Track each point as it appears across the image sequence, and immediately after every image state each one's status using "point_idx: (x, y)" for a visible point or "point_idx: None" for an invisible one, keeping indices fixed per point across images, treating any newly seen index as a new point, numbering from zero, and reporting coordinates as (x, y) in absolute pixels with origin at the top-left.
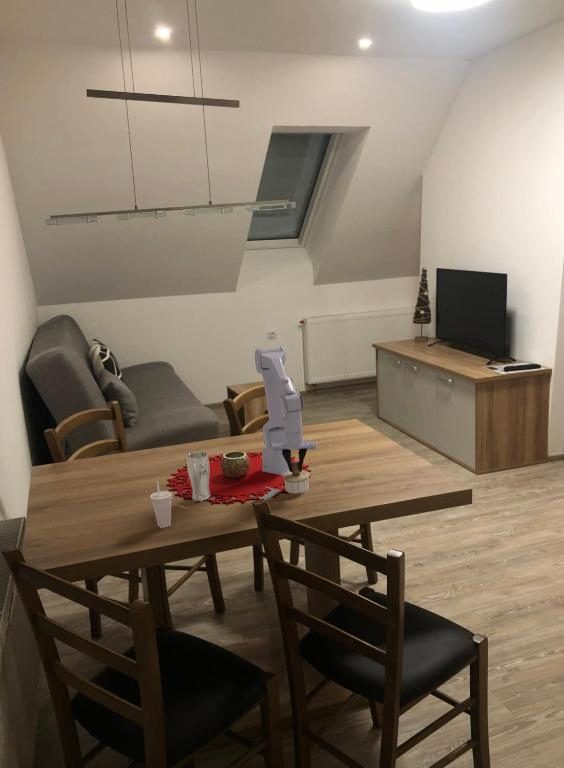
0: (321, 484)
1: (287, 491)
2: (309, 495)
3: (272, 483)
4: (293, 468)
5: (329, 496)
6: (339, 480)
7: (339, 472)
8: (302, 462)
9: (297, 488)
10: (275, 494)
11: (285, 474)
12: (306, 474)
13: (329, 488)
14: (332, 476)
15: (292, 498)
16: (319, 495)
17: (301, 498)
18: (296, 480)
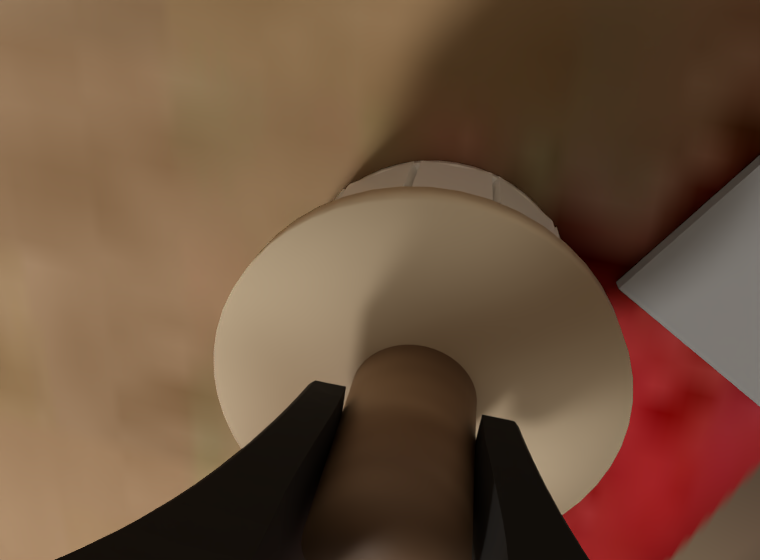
0: (173, 364)
1: (558, 235)
2: (294, 99)
3: (680, 510)
4: (443, 441)
5: (55, 17)
6: (14, 407)
7: (40, 555)
8: (213, 475)
9: (427, 181)
10: (732, 188)
11: (580, 440)
12: (254, 360)
13: (83, 249)
14: (88, 500)
15: (516, 42)
16: (174, 74)
17: (397, 18)
18: (424, 194)
